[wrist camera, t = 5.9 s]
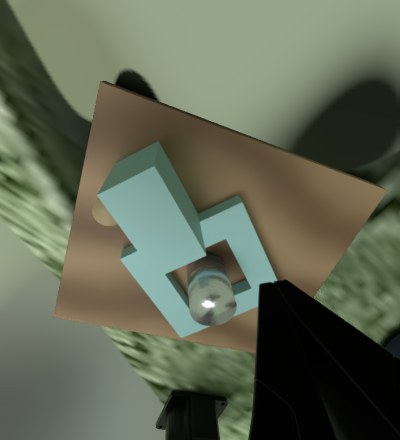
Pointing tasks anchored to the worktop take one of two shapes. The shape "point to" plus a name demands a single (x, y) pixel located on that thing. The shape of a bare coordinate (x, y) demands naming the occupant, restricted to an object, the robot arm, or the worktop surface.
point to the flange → (177, 234)
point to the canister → (394, 346)
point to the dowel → (102, 214)
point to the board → (202, 200)
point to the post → (210, 291)
